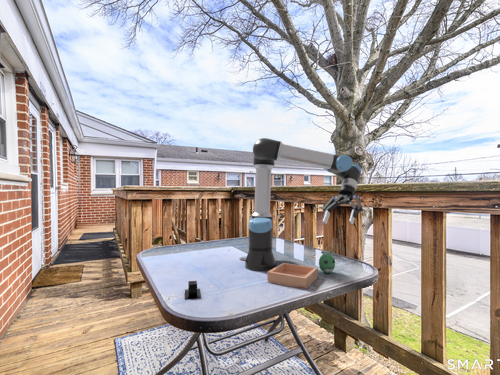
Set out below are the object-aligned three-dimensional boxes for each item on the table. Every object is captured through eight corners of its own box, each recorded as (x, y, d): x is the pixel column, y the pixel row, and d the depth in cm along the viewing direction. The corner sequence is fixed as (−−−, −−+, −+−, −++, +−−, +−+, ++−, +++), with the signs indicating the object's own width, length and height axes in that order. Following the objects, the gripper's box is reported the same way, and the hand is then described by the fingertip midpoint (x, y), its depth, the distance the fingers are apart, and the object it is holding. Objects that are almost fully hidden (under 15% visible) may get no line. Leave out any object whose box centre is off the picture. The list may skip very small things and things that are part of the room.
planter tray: (267, 281, 101) (267, 271, 102) (283, 271, 115) (283, 262, 115) (305, 289, 93) (305, 278, 93) (317, 277, 107) (317, 267, 107)
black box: (182, 290, 94) (182, 277, 94) (202, 288, 96) (202, 276, 96) (182, 303, 82) (182, 289, 82) (204, 301, 84) (204, 287, 84)
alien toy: (324, 276, 108) (324, 253, 109) (316, 271, 116) (316, 249, 116) (339, 275, 110) (338, 252, 110) (330, 270, 117) (329, 248, 118)
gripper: (375, 191, 122) (366, 227, 112) (329, 195, 140) (318, 226, 130) (369, 181, 119) (360, 217, 108) (323, 186, 137) (311, 218, 127)
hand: (337, 222), depth 119 cm, fingers open, 13 cm apart
